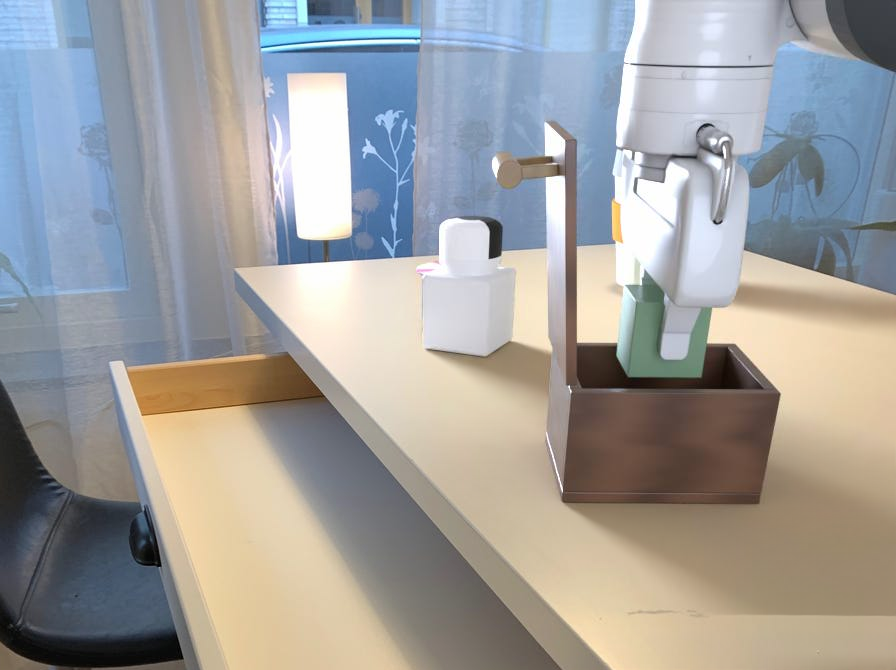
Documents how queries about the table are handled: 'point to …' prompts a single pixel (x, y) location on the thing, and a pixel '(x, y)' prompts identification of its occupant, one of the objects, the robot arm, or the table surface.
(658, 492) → the box
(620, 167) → the reusable coffee cup
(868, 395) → the table surface
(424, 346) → the medicine bottle
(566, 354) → the lid
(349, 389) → the table surface
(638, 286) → the block
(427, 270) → the cd
